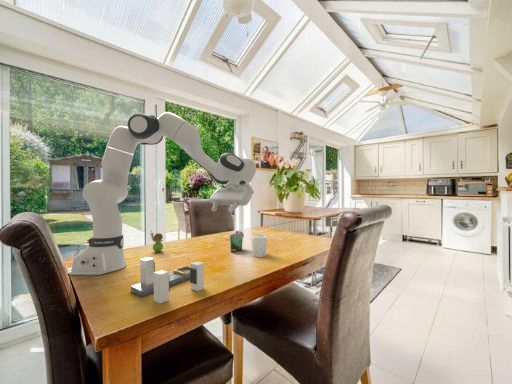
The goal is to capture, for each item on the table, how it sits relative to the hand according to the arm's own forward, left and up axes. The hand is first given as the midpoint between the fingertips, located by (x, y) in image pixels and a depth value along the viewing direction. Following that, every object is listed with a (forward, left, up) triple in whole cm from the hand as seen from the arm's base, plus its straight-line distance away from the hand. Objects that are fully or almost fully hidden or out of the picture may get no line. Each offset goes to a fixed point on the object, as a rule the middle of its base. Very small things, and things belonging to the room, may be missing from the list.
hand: (221, 210), depth 102 cm
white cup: (+20, +22, -26) cm, 40 cm away
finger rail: (-20, -8, -26) cm, 33 cm away
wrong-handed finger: (-20, -23, -26) cm, 40 cm away
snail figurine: (-35, +39, -26) cm, 58 cm away
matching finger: (-9, -15, -26) cm, 31 cm away
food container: (+10, +34, -26) cm, 44 cm away
